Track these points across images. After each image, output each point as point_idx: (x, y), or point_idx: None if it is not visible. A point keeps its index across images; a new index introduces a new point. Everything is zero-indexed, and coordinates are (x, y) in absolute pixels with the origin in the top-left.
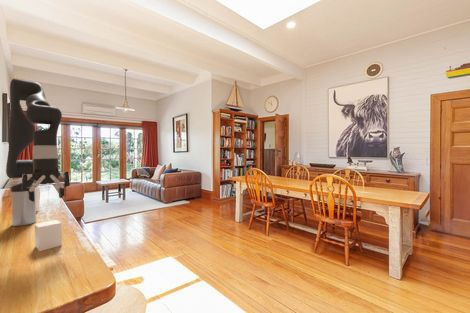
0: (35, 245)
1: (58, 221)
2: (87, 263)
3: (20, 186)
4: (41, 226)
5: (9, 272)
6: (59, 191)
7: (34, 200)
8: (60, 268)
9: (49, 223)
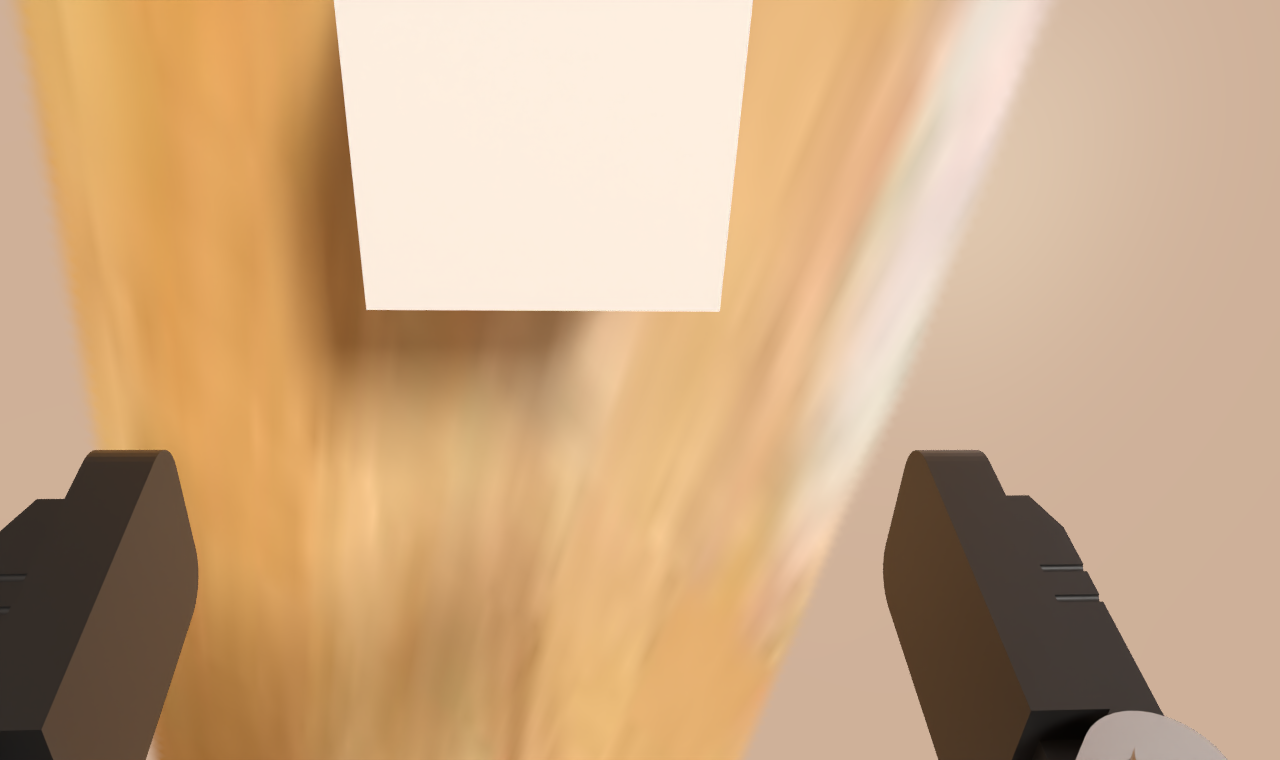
0: None
1: (727, 162)
2: (659, 739)
3: None
4: (415, 289)
5: None
6: (961, 677)
7: (193, 609)
8: (490, 692)
9: (564, 181)
